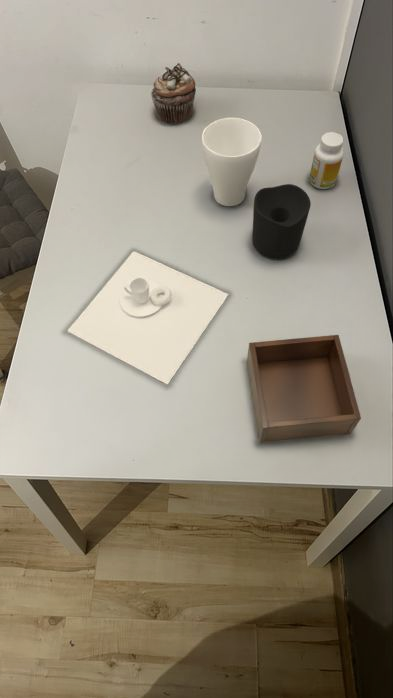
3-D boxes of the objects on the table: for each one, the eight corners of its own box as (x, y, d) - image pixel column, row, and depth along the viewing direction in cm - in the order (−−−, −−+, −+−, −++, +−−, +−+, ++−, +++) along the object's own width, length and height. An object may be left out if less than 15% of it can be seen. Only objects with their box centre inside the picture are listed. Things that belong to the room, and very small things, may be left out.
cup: (264, 205, 97) (272, 147, 85) (215, 221, 95) (215, 163, 84) (242, 171, 102) (246, 111, 90) (194, 185, 100) (192, 126, 88)
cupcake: (177, 94, 115) (175, 50, 106) (204, 114, 111) (204, 70, 102) (144, 111, 112) (139, 67, 103) (171, 132, 108) (167, 89, 100)
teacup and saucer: (177, 293, 87) (176, 279, 84) (152, 327, 84) (150, 314, 80) (136, 274, 89) (133, 259, 86) (110, 306, 86) (106, 292, 83)
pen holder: (288, 269, 89) (296, 230, 80) (241, 250, 92) (244, 210, 83) (309, 234, 93) (319, 193, 84) (263, 217, 96) (268, 175, 87)
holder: (330, 354, 80) (338, 334, 75) (350, 434, 74) (361, 418, 68) (246, 361, 80) (249, 342, 75) (259, 442, 74) (263, 428, 68)
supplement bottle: (340, 177, 100) (352, 135, 92) (329, 193, 98) (340, 152, 90) (315, 167, 102) (325, 125, 93) (304, 183, 100) (312, 142, 91)
